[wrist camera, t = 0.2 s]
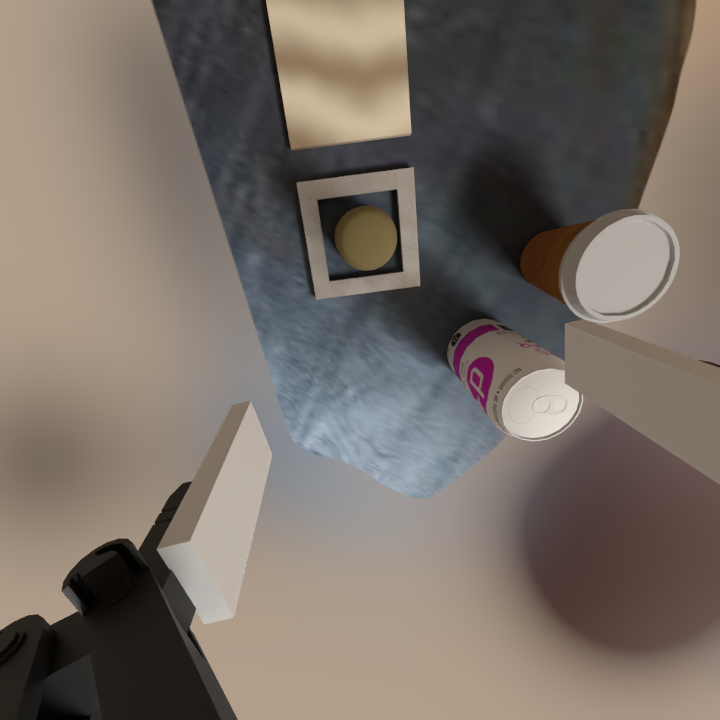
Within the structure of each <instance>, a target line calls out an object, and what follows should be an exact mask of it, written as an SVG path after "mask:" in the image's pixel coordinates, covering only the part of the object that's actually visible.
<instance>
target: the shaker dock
mask: <svg viewBox="0 0 720 720" xmlns="http://www.w3.org/2000/svg"><path fill="white" fill-rule="evenodd" d="M297 189H298V195H299V201H300V207H301V213H302V219H303V225H304V231H305V237H306V243H307V249H308V254H309V260H310V266H311V272H312V278H313V284H314V290H315V296H316V299H324V298H331V297H339V296H347V295H354V294H362V293H370V292H378V291H385V290H393V289H401V288H408V287H416V286H420V271H419V253H418V236H417V218H416V200H415V183H414V167H411V168H404V169H396V170H389V171H381V172H373V173H366V174H358V175H350V176H343V177H335V178H327V179H320V180H312V181H304V182H297ZM394 190H396V196H397V209H398V223H399V236H400V249H401V263H402V271H398V272H390V273H382V274H375V275H367V276H359V277H351V278H344V279H336V280H330V279H329V273H328V266H327V259H326V253H325V246H324V240H323V233H322V226H321V220H320V213H319V206H318V200H325V199H333V198H340V197H348V196H356V195H363V194H371V193H379V192H386V191H394Z"/></svg>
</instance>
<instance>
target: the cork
mask: <svg viewBox="0 0 720 720" xmlns="http://www.w3.org/2000/svg"><path fill="white" fill-rule="evenodd" d="M334 238H335V245H336V247H337V250H338V252H339V253H340V255H341V257H342V258H343V259H344V260H345V262H346V263H347V264H348V265H350V266H352V267H353V268H355V269H359V270H363V271H368V270H375V269H377V268H379V267H381V266H383V265H384V264H385V263H386V262H388V261H389V260H390V258H391V257H392V255H393V253H394V252H395V248H396V244H397V230H396V228H395V225H394V222H393V221H392V219H391V218H390V217H389V215H388V214H387V213H385V212H384V211H382V210H381V209H379V208H377V207H373V206H360V207H357V208H354V209H352V210H350V211H347V212H346V213H345V214H344V215H343V216H342V217H341V218H340V219H339V221H338V223H337V225H336V228H335V233H334Z"/></svg>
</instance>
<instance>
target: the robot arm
mask: <svg viewBox="0 0 720 720" xmlns="http://www.w3.org/2000/svg"><path fill="white" fill-rule="evenodd" d="M565 384H567V385H568V386H570V387H571V388H573V389H574V390H576V391H578V392H579V393H581V394H582V395H584V396H585V397H587V398H588V399H590V400H591V401H593V402H594V403H596V404H597V405H599V406H600V407H602V408H604V409H605V410H607V411H608V412H610V413H611V414H613V415H614V416H616V417H617V418H619V419H620V420H622V421H624V422H625V423H627V424H628V425H630V426H631V427H633V428H634V429H636V430H637V431H639V432H641V433H642V434H643V435H645V436H646V437H648V438H650V439H651V440H653V441H654V442H656V443H657V444H659V445H660V446H662V447H664V448H665V449H666V450H668V451H669V452H671V453H673V454H674V455H676V456H677V457H679V458H680V459H682V460H683V461H685V462H686V463H688V464H689V465H691V466H692V467H694V468H695V469H697V470H698V471H700V472H702V473H703V474H705V475H706V476H708V477H709V478H711V479H712V480H714V481H715V482H717V483H718V484H720V365H717V364H714V363H711V362H707V361H701V360H696V359H693V358H690V357H687V356H685V355H682V354H679V353H677V352H674V351H671V350H668V349H665V348H663V347H659V346H656V345H654V344H651V343H649V342H646V341H643V340H640V339H637V338H635V337H631V336H629V335H626V334H623V333H620V332H617V331H615V330H612V329H609V328H606V327H604V326H601V325H598V324H595V323H593V322H590V321H587V320H584V319H582V320H578V321H574V322H570V323H566V324H565ZM271 458H272V453H271V451H270V448H269V446H268V443H267V441H266V438H265V435H264V433H263V431H262V428H261V425H260V423H259V420H258V418H257V415H256V413H255V410H254V408H253V405H252V403H251V401H248V402H244V403H240V404H236V405H232V407H231V409H230V411H229V413H228V415H227V417H226V418H225V421H224V422H223V424H222V426H221V428H220V430H219V432H218V434H217V435H216V437H215V439H214V441H213V443H212V445H211V447H210V449H209V451H208V453H207V455H206V456H205V458H204V460H203V462H202V464H201V466H200V468H199V470H198V472H197V474H196V475H195V477H194V479H193V481H191V482H187V483H183V484H182V485H181V486H180V487H179V488H178V489H177V490H176V491H175V492H174V493H173V494H172V495H171V496H170V497H169V499H168V500H167V502H166V504H165V506H164V507H163V509H162V513H160V514H159V516H158V518H157V519H156V521H155V525H153V526H152V528H151V529H150V531H149V533H148V535H147V536H146V538H145V540H144V542H143V543H142V545H141V547H140V548H139V550H137V549H136V547H135V546H134V544H133V543H132V542H131V541H130V540H129V539H117V540H114V541H110V542H107V543H105V544H104V545H102V546H100V547H98V548H96V549H95V550H93V551H92V552H90V553H89V554H88V555H87V556H85V557H84V558H83V559H81V560H80V561H79V562H78V564H77V565H76V566H75V567H74V568H73V569H72V570H71V571H70V572H69V574H68V575H67V577H66V579H65V580H64V582H63V586H62V592H63V593H64V594H65V596H66V597H67V598H68V599H69V600H70V601H71V603H72V604H73V605H74V606H75V608H76V609H77V610H78V612H76V613H74V614H72V615H70V616H68V617H66V618H64V619H62V620H60V621H58V622H56V623H54V624H52V625H49V624H48V623H47V622H46V621H45V619H44V618H42V617H41V616H39V615H38V614H37V615H28V616H26V617H23V618H21V619H19V620H17V621H14V622H13V623H11V624H10V625H8V626H7V627H5V628H4V629H2V630H0V720H237V717H236V716H235V714H234V712H233V710H232V708H231V706H230V704H229V702H228V700H227V698H226V696H225V694H224V692H223V690H222V688H221V686H220V684H219V682H218V680H217V679H216V676H215V674H214V673H213V671H212V669H211V667H210V665H209V663H208V661H207V659H206V657H205V655H204V653H203V651H202V649H201V647H200V646H199V643H198V641H197V639H196V637H195V635H194V634H193V632H192V631H191V629H190V625H191V622H192V619H193V616H194V613H195V610H196V612H197V614H198V615H199V617H200V618H201V620H202V621H203V623H204V625H205V624H209V623H213V622H217V621H221V620H225V619H229V618H233V617H234V615H235V611H236V606H237V602H238V598H239V593H240V590H241V585H242V581H243V577H244V572H245V569H246V564H247V560H248V556H249V552H250V547H251V543H252V539H253V535H254V530H255V526H256V522H257V518H258V513H259V509H260V505H261V501H262V497H263V492H264V488H265V484H266V480H267V475H268V471H269V467H270V463H271Z"/></svg>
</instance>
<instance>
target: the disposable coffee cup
mask: <svg viewBox="0 0 720 720" xmlns="http://www.w3.org/2000/svg"><path fill="white" fill-rule="evenodd" d="M679 255H680V250H679V244H678V239H677V237H676V235H675V233H674V231H673V229H672V228H671V227H670V226H669V225H668V224H667V223H665V222H664V221H663V220H662V219H660V218H657V217H656V216H655V215H653V214H651V213H649V212H647V211H644V210H638V209H624V210H617V211H614V212H612V213H609V214H606V215H604V216H601V217H600V218H598V219H597V220H593V221H589V222H585V223H580V224H576V225H571V226H566V227H562V228H558V229H553V230H548V231H544V232H542V233H540V234H538V235H536V236H535V237H534V238H532V239H531V240H530V241H529V242H528V244H527V245H526V246H525V248H524V250H523V252H522V255H521V260H520V267H521V272H522V275H523V277H524V278H525V279H526V280H527V281H528V282H529V283H530V284H532V285H534V286H535V287H537V288H539V289H541V290H542V291H544V292H546V293H547V294H549V295H551V296H552V297H554V298H556V299H558V300H559V301H561V302H563V303H564V304H566V305H567V306H568V308H569V309H570V310H571V311H572V312H573V313H574V314H576V315H577V316H578V317H580V318H582V319H585V320H587V321H590V322H596V323H607V322H612V321H619V320H624V319H629V318H631V317H634V316H636V315H639V314H640V313H642V312H643V311H645V310H646V309H648V308H649V307H651V306H653V304H655V303H656V302H657V300H659V299H660V298H661V297H662V296H663V294H664V293H665V292H666V291H667V289H668V287H669V286H670V284H671V282H672V280H673V279H674V276H675V274H676V271H677V268H678V263H679Z"/></svg>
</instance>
